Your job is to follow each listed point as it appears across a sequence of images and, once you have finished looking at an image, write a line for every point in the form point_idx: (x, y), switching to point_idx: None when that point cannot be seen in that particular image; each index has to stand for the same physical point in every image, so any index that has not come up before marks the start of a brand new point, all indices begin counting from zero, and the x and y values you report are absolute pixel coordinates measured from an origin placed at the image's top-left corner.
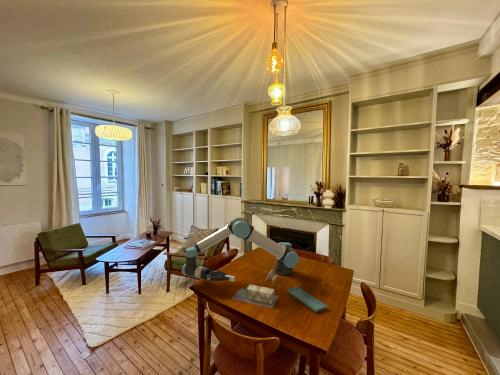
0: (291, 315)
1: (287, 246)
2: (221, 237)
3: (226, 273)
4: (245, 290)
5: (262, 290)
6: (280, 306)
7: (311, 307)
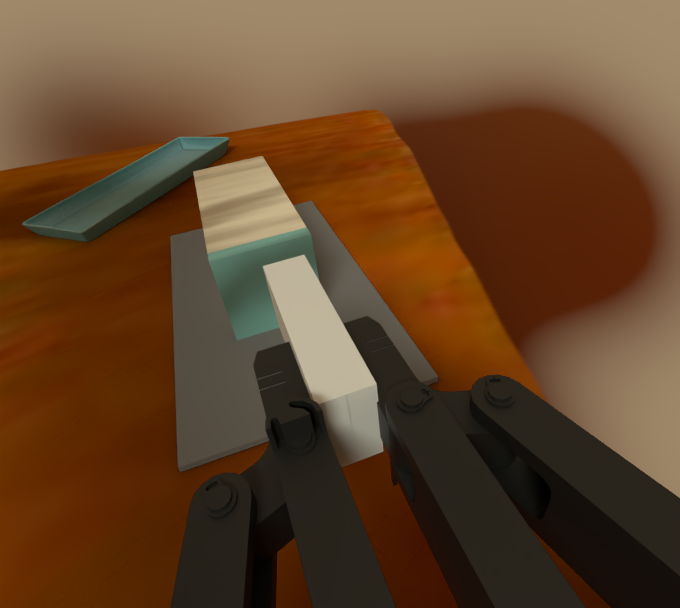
0: (301, 166)
1: None
2: None
3: (218, 479)
4: (203, 396)
5: (254, 183)
6: None
7: (218, 146)
